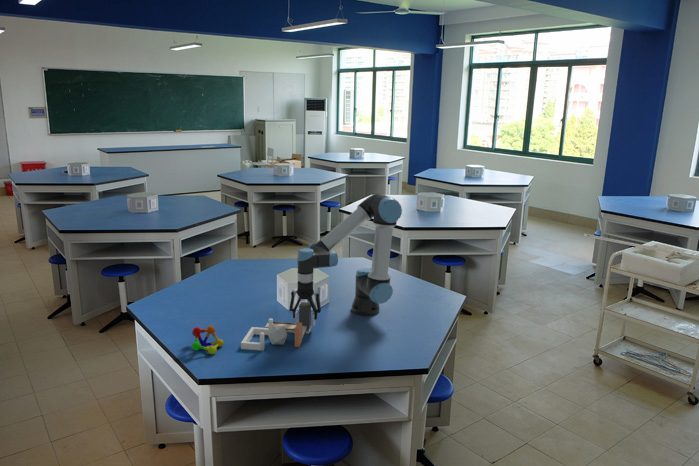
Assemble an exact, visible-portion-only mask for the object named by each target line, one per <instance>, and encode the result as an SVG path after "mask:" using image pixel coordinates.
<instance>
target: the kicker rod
mask: <svg viewBox="0 0 699 466" xmlns="http://www.w3.org/2000/svg"><path fill="white" fill-rule="evenodd" d="M311 325H312V307H311V304H310V302H309V301H307V302H306V301H304V302H303V301H300V303H299V305H298V323H297V325H296V327H295V333H294V347H295V348H300V346H301V344H302V341H303V337H304V335H305V334H306V333H305V331H306V330H309V329H310V327H311ZM311 328H312V327H311ZM310 330H311V329H310Z"/></svg>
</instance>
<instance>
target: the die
mask: <svg viewBox="0 0 699 466" xmlns="http://www.w3.org/2000/svg"><path fill="white" fill-rule="evenodd" d="M267 336H268V338H269V340H270V343H271V345H277V346H278V345H280V346H281V345H285V342H286V340H287V338H288V336H289V334H288V332H287V331H286V329H285V326H272V328H271V331H270V333H269V335H267Z"/></svg>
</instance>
